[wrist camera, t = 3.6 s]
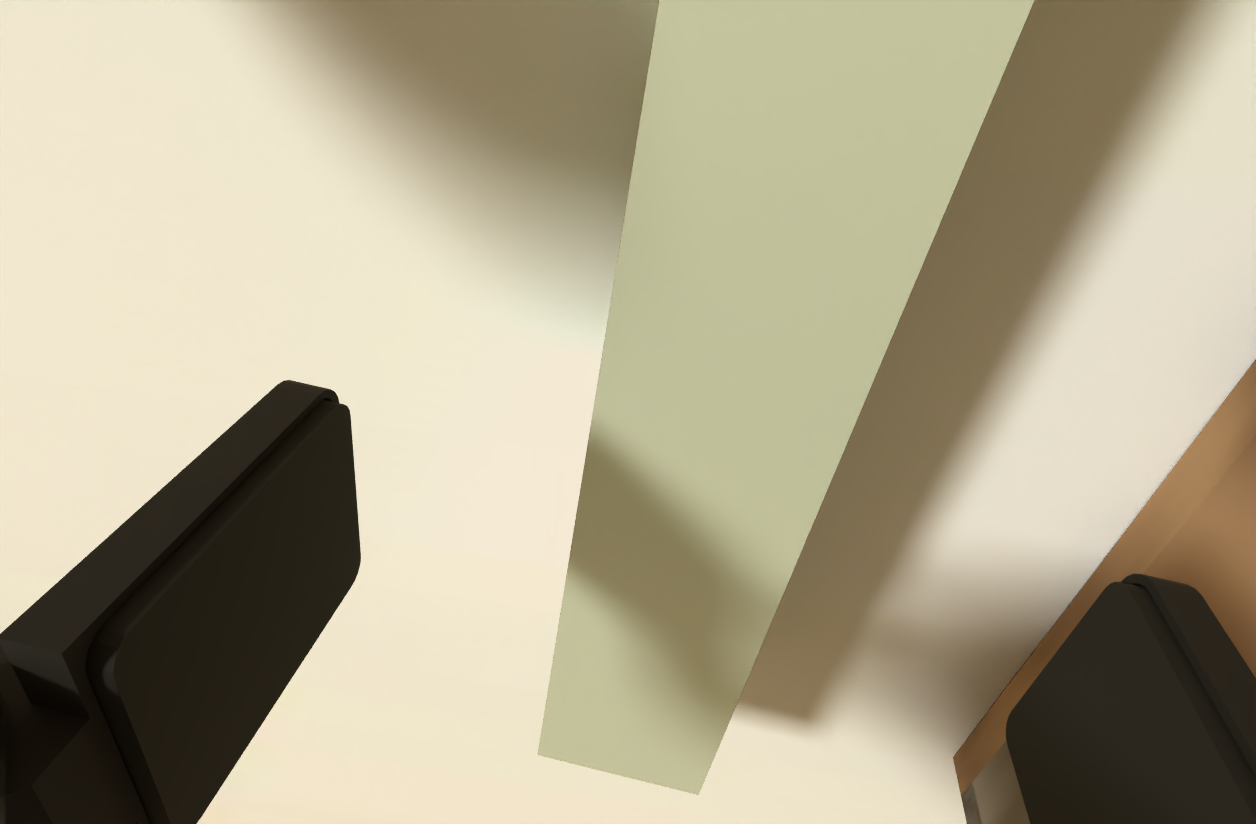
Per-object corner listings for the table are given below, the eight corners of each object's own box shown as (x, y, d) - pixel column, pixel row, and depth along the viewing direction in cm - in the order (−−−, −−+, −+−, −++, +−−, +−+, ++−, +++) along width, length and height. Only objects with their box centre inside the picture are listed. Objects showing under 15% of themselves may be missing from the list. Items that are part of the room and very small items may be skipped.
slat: (791, -544, 9) (806, -913, 5) (1108, -492, 9) (1386, -832, 5) (581, 598, 22) (537, 754, 18) (712, 629, 22) (698, 794, 18)
